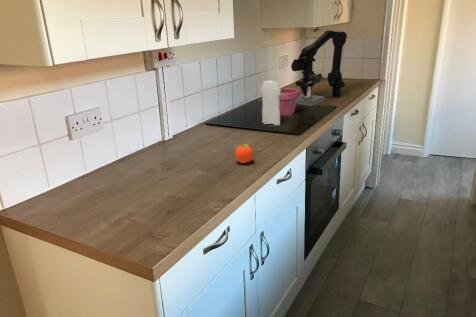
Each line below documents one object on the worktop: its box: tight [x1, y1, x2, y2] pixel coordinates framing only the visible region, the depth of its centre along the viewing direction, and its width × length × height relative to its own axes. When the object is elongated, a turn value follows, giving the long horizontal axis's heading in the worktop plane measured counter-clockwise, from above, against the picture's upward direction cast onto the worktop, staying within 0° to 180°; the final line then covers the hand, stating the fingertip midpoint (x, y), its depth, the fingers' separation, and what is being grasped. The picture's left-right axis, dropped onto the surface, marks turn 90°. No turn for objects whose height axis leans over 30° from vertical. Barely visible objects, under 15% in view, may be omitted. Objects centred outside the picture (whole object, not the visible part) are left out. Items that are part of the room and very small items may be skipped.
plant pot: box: [279, 88, 300, 116], centre depth 218 cm, size 14×14×13 cm
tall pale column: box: [260, 79, 282, 126], centre depth 198 cm, size 11×4×22 cm, turn 61°
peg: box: [304, 87, 312, 99], centre depth 243 cm, size 4×4×7 cm
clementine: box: [234, 144, 254, 164], centre depth 152 cm, size 8×7×7 cm
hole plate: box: [296, 93, 326, 107], centre depth 245 cm, size 16×16×3 cm
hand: (307, 95), depth 244 cm, fingers closed on peg, 4 cm apart
